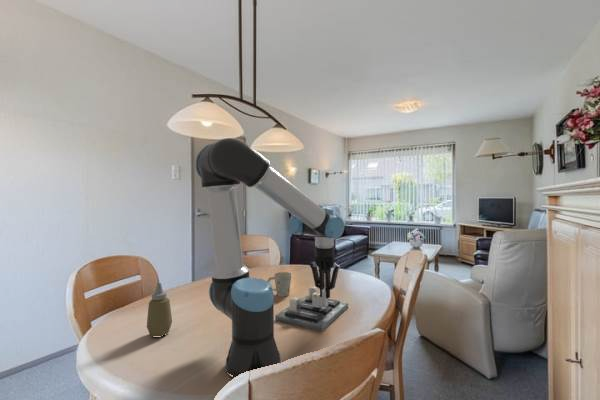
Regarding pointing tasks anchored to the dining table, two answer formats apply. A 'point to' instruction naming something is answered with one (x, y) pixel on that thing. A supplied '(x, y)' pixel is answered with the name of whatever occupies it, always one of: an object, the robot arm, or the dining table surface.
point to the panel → (311, 312)
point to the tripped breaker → (316, 300)
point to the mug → (282, 283)
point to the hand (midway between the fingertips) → (325, 305)
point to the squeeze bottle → (159, 313)
